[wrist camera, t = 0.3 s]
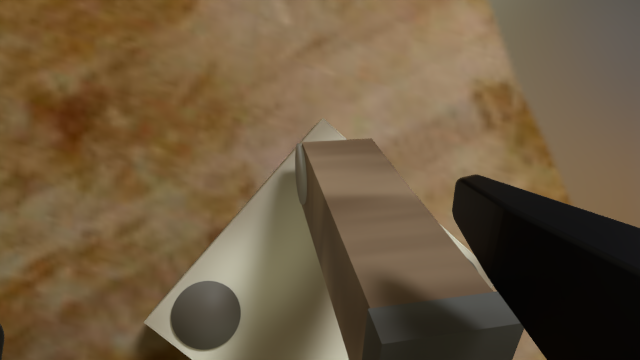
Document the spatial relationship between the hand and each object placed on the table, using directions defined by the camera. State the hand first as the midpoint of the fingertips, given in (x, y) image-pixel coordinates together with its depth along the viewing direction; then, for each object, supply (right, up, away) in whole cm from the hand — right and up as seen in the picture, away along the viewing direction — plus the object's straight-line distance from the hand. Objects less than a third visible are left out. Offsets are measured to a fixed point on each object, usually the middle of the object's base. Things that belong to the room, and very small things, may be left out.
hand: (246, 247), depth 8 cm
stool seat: (+2, -5, +15) cm, 16 cm away
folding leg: (+2, +2, +12) cm, 13 cm away
